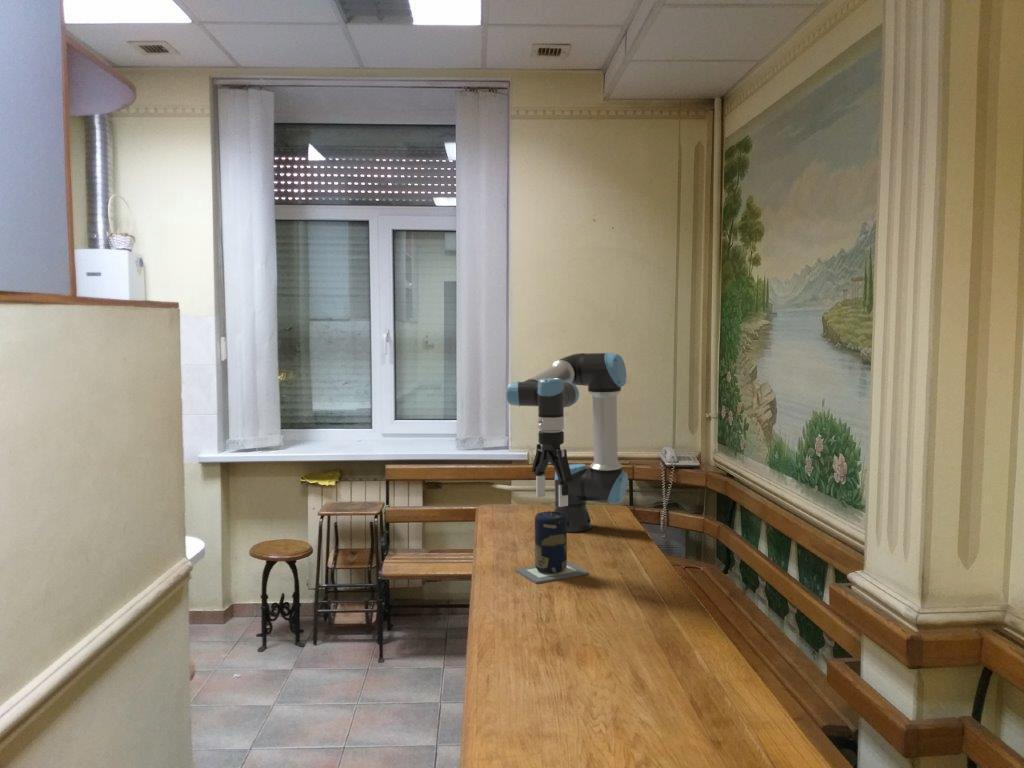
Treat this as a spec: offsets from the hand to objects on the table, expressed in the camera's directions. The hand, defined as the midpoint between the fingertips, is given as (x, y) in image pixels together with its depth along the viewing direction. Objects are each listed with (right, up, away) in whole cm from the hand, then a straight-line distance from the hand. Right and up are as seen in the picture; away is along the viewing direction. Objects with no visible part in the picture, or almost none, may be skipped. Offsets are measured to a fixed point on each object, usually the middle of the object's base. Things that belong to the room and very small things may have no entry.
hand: (551, 501), depth 216 cm
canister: (0, -21, +1) cm, 21 cm away
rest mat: (0, -22, +1) cm, 22 cm away
